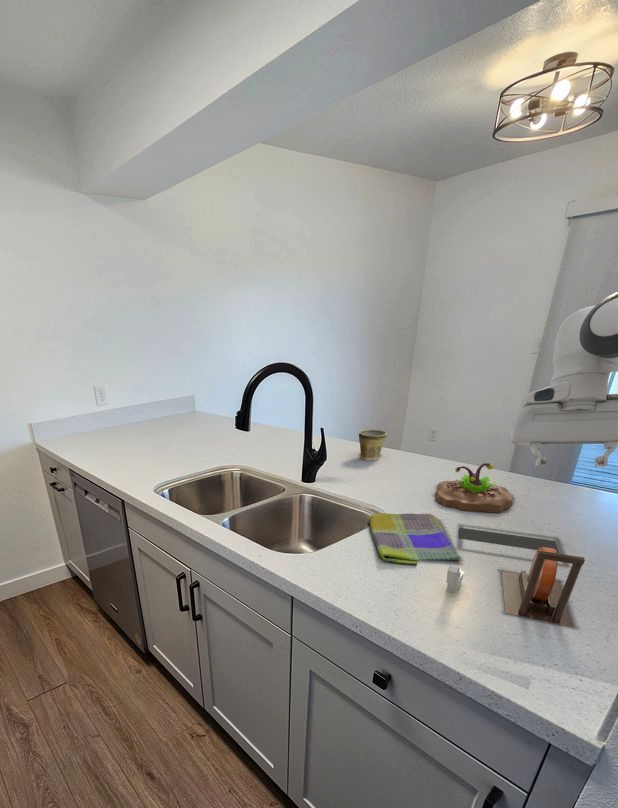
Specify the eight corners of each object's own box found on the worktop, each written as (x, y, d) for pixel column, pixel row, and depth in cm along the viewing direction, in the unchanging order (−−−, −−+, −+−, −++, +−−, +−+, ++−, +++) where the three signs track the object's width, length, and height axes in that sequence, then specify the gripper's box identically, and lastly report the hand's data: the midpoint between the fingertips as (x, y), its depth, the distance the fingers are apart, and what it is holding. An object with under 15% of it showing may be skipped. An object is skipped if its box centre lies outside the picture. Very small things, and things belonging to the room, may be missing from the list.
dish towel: (376, 563, 99) (378, 552, 98) (368, 519, 120) (369, 510, 119) (461, 568, 95) (463, 557, 94) (436, 522, 116) (438, 512, 115)
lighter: (450, 586, 89) (458, 552, 86) (459, 589, 88) (468, 555, 85) (440, 602, 85) (448, 567, 81) (449, 606, 84) (458, 570, 80)
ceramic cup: (383, 462, 163) (386, 436, 158) (355, 461, 166) (357, 435, 162) (384, 453, 173) (387, 428, 169) (357, 452, 177) (360, 427, 172)
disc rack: (557, 586, 87) (580, 523, 81) (572, 633, 75) (600, 563, 69) (499, 575, 92) (517, 516, 85) (504, 618, 79) (525, 552, 73)
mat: (554, 542, 103) (555, 540, 103) (564, 571, 92) (565, 568, 92) (459, 529, 112) (459, 527, 111) (458, 554, 101) (458, 551, 100)
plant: (512, 517, 116) (524, 477, 111) (432, 506, 125) (439, 469, 120) (510, 492, 131) (520, 456, 126) (439, 484, 140) (445, 450, 135)
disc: (537, 584, 86) (552, 539, 82) (544, 612, 79) (561, 564, 74) (525, 582, 87) (539, 538, 83) (530, 609, 79) (547, 562, 75)
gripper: (640, 397, 83) (632, 469, 84) (512, 403, 93) (506, 468, 93) (655, 386, 78) (647, 463, 78) (518, 394, 87) (511, 463, 87)
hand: (569, 466), depth 86 cm, fingers open, 8 cm apart
